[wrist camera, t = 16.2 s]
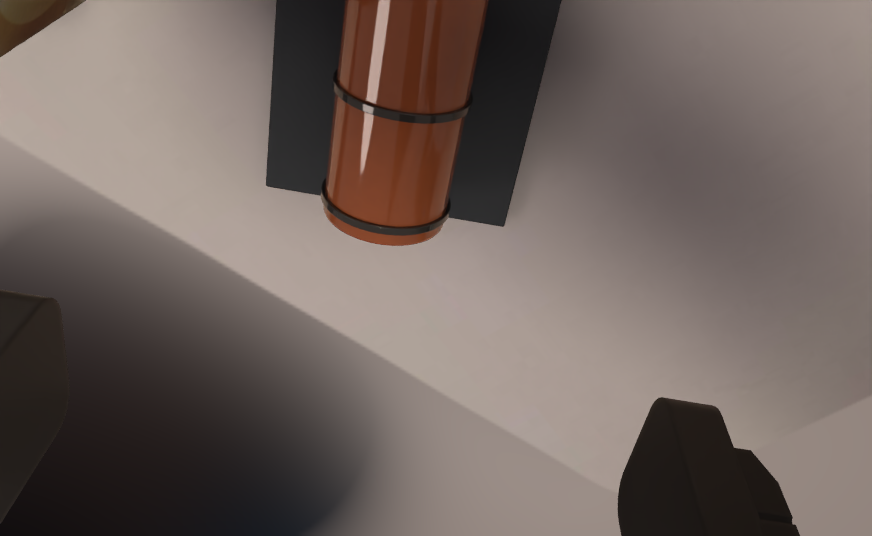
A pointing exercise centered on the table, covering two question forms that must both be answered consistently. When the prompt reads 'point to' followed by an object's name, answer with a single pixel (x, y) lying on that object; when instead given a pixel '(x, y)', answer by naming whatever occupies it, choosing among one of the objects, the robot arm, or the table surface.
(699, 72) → the table surface
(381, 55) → the banded orange roll
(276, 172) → the rubber mat
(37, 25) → the coffee box
